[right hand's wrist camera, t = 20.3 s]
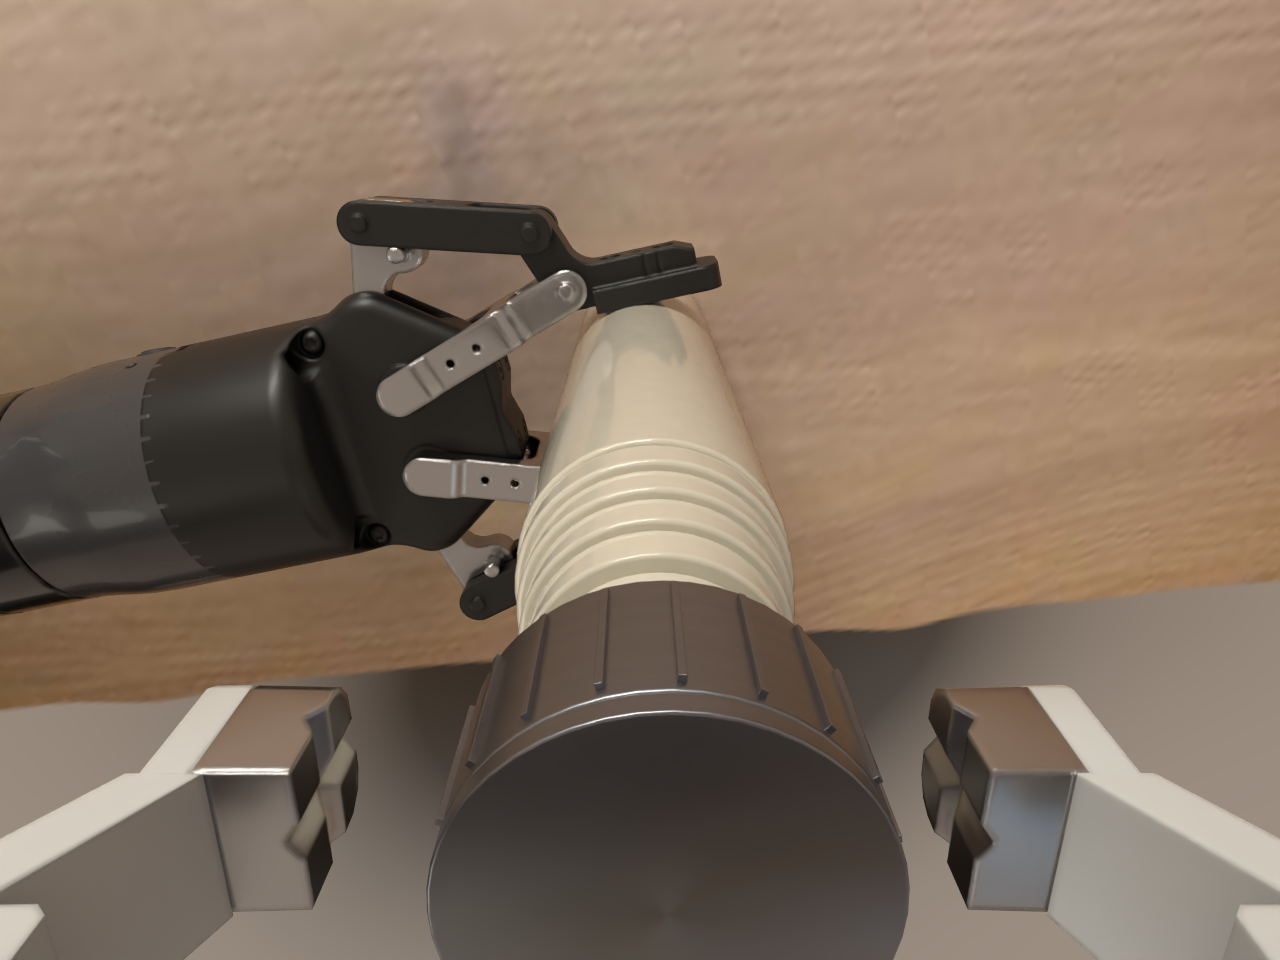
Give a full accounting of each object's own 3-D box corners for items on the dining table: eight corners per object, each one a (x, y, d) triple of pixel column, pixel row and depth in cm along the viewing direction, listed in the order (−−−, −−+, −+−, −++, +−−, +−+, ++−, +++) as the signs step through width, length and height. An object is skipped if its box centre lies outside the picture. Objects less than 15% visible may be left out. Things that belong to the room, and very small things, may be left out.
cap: (896, 600, 10) (975, 738, 7) (812, 913, 11) (856, 1105, 9) (482, 550, 9) (434, 676, 7) (456, 876, 11) (411, 1064, 9)
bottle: (559, 311, 33) (338, 796, 8) (665, 247, 32) (763, 575, 8) (623, 412, 34) (591, 1080, 10) (726, 353, 33) (971, 920, 9)
